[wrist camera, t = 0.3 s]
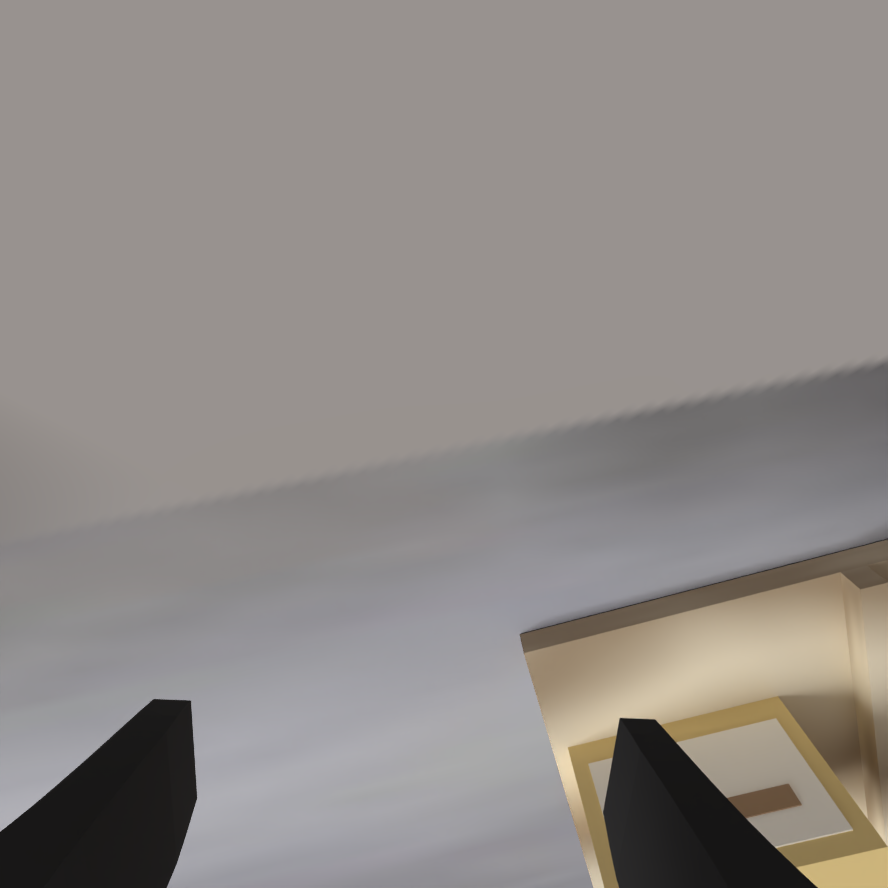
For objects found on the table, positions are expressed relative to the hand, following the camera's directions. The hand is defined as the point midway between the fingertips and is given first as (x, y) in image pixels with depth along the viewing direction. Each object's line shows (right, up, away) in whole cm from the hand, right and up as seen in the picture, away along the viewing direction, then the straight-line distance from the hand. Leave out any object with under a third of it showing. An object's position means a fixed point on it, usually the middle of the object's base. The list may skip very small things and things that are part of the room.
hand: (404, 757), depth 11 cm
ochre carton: (+9, -6, +11) cm, 15 cm away
